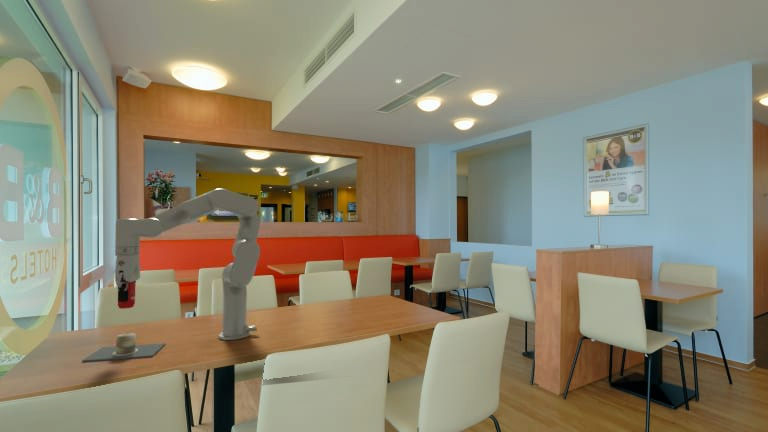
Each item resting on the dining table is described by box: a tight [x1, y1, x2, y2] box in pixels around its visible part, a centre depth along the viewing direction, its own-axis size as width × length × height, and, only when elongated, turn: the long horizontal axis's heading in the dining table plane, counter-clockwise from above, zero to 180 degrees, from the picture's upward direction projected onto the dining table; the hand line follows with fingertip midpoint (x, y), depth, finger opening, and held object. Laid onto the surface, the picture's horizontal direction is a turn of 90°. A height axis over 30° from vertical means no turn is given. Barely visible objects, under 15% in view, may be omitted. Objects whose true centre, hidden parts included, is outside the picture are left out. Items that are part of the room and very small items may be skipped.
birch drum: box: [115, 332, 137, 354], centre depth 137 cm, size 6×6×6 cm
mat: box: [81, 342, 166, 363], centre depth 138 cm, size 22×14×1 cm, turn 104°
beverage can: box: [117, 280, 136, 310], centre depth 137 cm, size 5×5×12 cm
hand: (126, 299), depth 137 cm, fingers closed on beverage can, 5 cm apart
